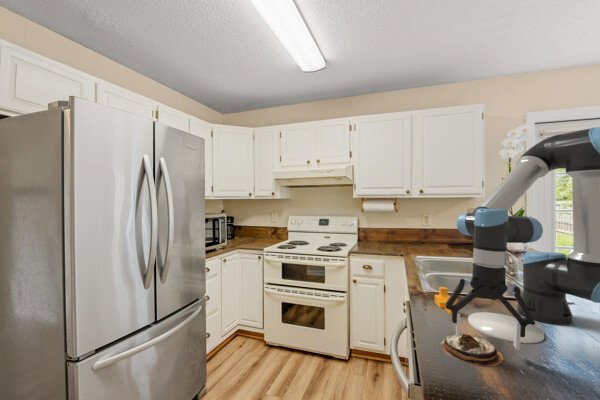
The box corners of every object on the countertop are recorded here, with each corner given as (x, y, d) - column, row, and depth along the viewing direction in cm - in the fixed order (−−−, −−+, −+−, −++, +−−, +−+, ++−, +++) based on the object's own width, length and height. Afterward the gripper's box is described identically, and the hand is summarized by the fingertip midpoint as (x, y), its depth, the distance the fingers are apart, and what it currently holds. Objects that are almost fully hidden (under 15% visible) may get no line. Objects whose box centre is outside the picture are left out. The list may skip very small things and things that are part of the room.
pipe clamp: (434, 302, 114) (434, 286, 114) (445, 303, 113) (445, 287, 113) (444, 314, 102) (444, 297, 102) (457, 315, 101) (457, 297, 101)
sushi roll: (511, 371, 67) (510, 354, 67) (442, 360, 72) (442, 344, 73) (494, 343, 81) (493, 328, 81) (437, 335, 86) (437, 321, 86)
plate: (532, 322, 95) (532, 319, 95) (554, 351, 77) (555, 347, 77) (465, 311, 104) (465, 308, 104) (471, 335, 86) (471, 331, 86)
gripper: (542, 268, 73) (539, 346, 73) (438, 256, 84) (435, 324, 85) (553, 274, 67) (549, 361, 67) (438, 261, 78) (435, 335, 78)
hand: (485, 341), depth 76 cm, fingers open, 13 cm apart
